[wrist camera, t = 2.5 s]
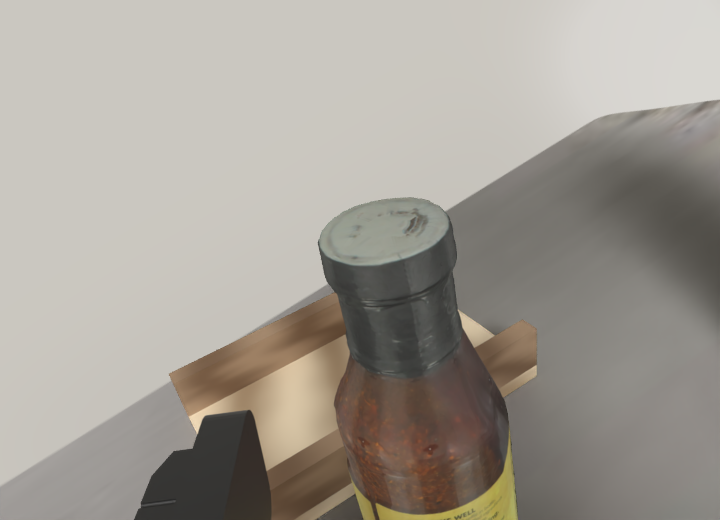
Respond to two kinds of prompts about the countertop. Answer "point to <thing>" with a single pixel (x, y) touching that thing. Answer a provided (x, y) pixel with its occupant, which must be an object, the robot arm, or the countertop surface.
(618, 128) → the countertop surface
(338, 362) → the track
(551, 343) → the countertop surface
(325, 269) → the sauce bottle
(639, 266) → the countertop surface
